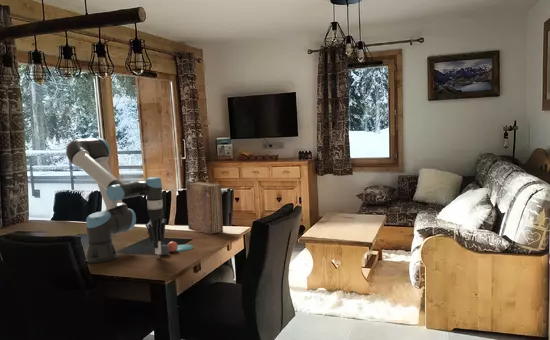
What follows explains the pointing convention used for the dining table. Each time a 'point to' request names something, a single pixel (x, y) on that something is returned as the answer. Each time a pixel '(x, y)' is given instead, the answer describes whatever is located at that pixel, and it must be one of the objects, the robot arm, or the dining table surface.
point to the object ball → (172, 246)
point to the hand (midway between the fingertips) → (158, 253)
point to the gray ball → (164, 249)
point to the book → (204, 207)
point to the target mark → (184, 248)
